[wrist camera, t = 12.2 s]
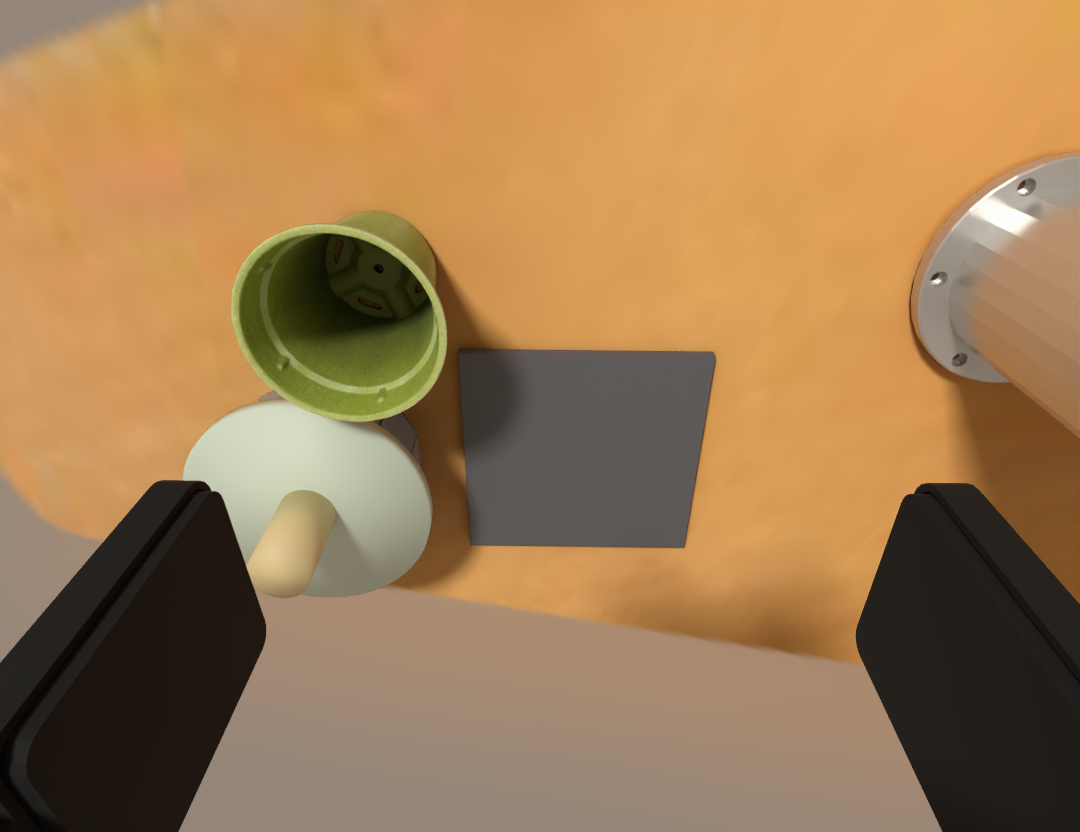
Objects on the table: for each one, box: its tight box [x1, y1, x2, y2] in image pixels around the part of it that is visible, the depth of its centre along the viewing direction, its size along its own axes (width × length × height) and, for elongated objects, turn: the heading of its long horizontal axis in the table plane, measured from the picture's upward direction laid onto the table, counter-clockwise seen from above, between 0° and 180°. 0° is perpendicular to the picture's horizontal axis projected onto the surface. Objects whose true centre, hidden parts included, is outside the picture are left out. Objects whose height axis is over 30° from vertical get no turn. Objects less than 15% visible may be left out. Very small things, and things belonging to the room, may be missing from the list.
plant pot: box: [231, 211, 448, 422], centre depth 32 cm, size 9×9×9 cm
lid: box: [183, 398, 433, 598], centre depth 36 cm, size 14×14×6 cm
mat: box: [458, 349, 716, 548], centre depth 42 cm, size 15×15×1 cm
